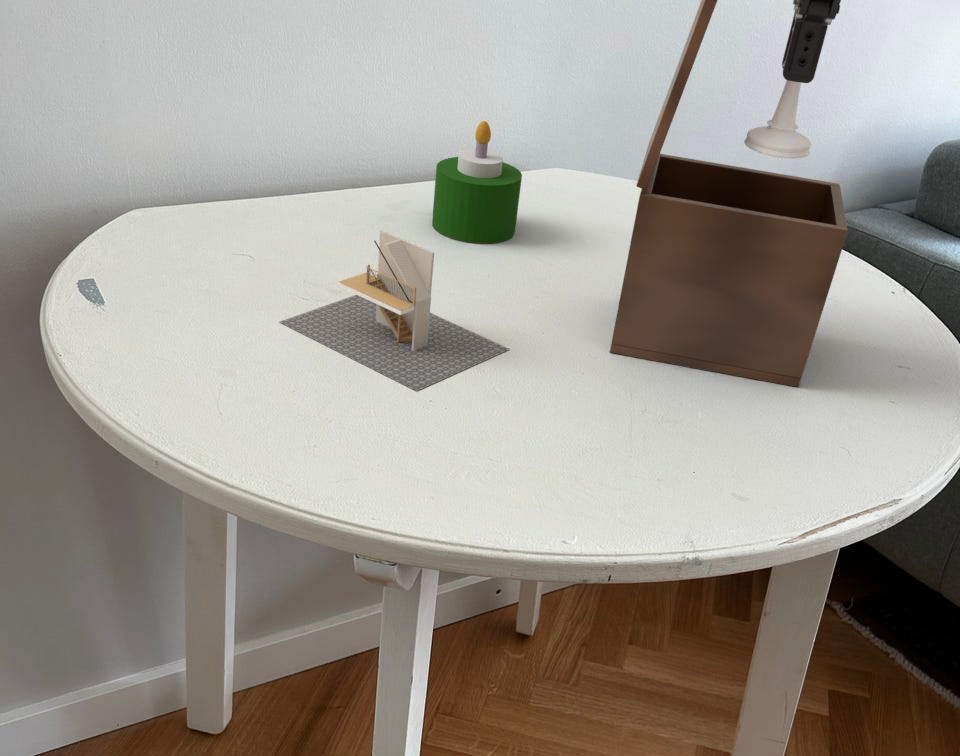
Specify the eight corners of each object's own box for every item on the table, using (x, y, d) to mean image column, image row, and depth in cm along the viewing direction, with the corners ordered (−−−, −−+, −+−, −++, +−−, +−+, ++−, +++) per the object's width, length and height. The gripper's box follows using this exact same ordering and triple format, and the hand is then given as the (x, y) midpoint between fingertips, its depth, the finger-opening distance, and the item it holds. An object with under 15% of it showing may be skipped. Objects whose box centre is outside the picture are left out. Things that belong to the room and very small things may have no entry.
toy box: (795, 330, 99) (839, 183, 91) (798, 387, 90) (848, 230, 82) (623, 299, 101) (651, 151, 92) (609, 352, 92) (639, 194, 84)
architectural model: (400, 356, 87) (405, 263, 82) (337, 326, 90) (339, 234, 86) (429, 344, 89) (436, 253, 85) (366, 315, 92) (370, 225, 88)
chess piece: (805, 163, 81) (848, 9, 75) (738, 149, 82) (775, -4, 76) (813, 146, 85) (854, -2, 79) (749, 133, 86) (785, -14, 80)
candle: (442, 207, 114) (451, 102, 108) (521, 221, 113) (534, 117, 107) (423, 234, 108) (431, 124, 101) (506, 249, 107) (519, 140, 101)
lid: (740, -76, 82) (730, -80, 82) (737, -54, 73) (726, -59, 73) (657, 147, 92) (648, 144, 92) (646, 190, 83) (635, 186, 83)
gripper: (950, -215, 64) (854, 108, 75) (922, -220, 74) (842, 63, 85) (819, -232, 64) (743, 91, 75) (810, -235, 75) (744, 48, 86)
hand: (796, 75), depth 80 cm, fingers closed on chess piece
